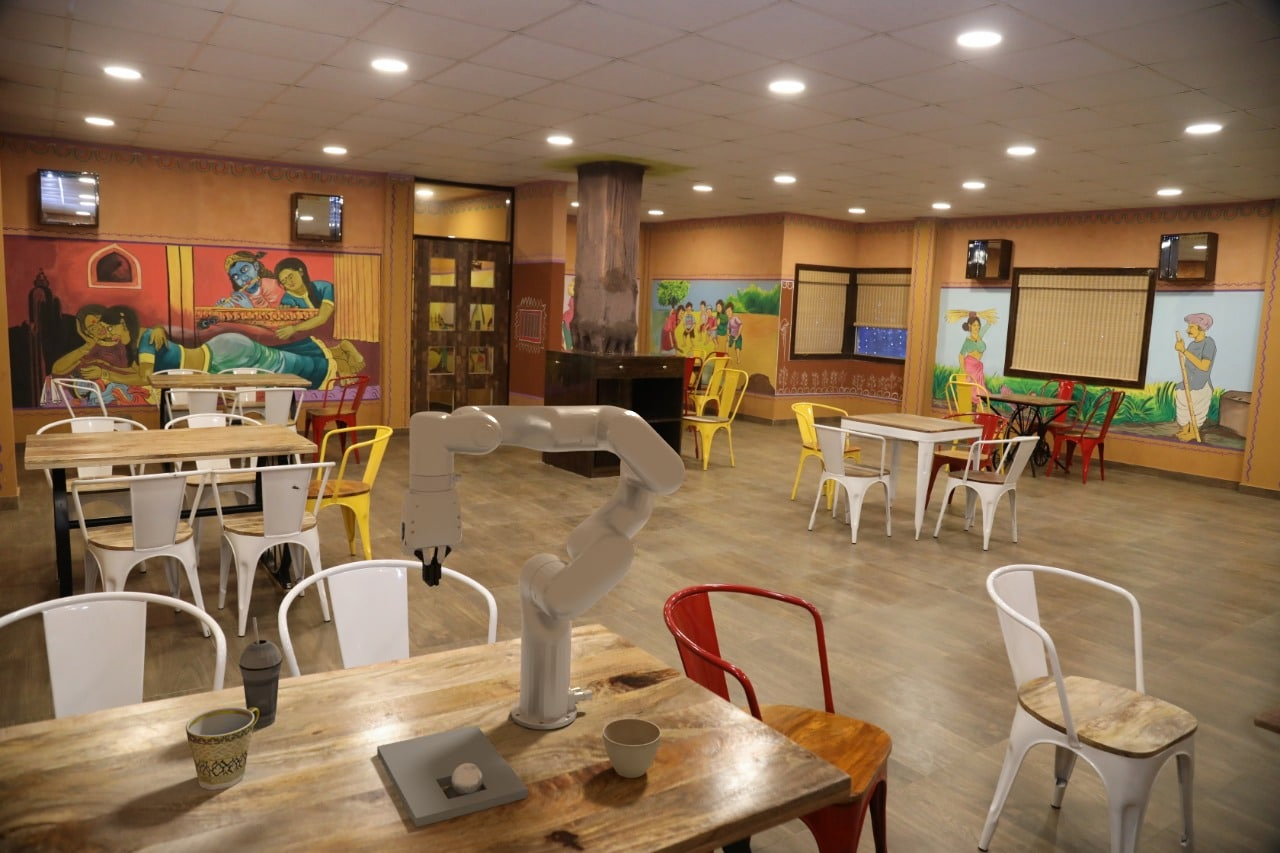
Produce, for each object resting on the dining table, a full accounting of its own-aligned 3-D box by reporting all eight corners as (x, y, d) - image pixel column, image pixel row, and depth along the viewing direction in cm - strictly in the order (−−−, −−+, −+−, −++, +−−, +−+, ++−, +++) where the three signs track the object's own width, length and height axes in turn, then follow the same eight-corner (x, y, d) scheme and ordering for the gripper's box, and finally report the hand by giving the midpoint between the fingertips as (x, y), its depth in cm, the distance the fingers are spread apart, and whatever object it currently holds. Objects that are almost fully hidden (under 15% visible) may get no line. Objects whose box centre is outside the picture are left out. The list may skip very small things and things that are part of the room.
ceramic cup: (221, 801, 135) (219, 741, 133) (172, 787, 138) (170, 728, 137) (282, 762, 147) (281, 706, 146) (236, 750, 150) (235, 695, 149)
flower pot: (666, 762, 152) (668, 723, 151) (648, 791, 142) (650, 750, 141) (613, 751, 155) (615, 713, 154) (592, 778, 146) (593, 738, 145)
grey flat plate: (476, 732, 160) (476, 724, 159) (527, 797, 139) (527, 789, 139) (377, 754, 151) (377, 746, 150) (416, 827, 130) (416, 818, 130)
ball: (467, 807, 136) (451, 797, 140) (492, 787, 139) (476, 778, 143) (456, 781, 135) (441, 772, 139) (482, 761, 138) (466, 752, 142)
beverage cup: (267, 733, 156) (265, 627, 154) (231, 728, 158) (229, 622, 155) (291, 715, 163) (289, 613, 161) (256, 710, 165) (254, 609, 162)
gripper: (465, 475, 158) (464, 572, 161) (382, 482, 151) (383, 583, 153) (480, 483, 152) (479, 584, 155) (395, 490, 144) (395, 596, 147)
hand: (431, 583), depth 154 cm, fingers closed
